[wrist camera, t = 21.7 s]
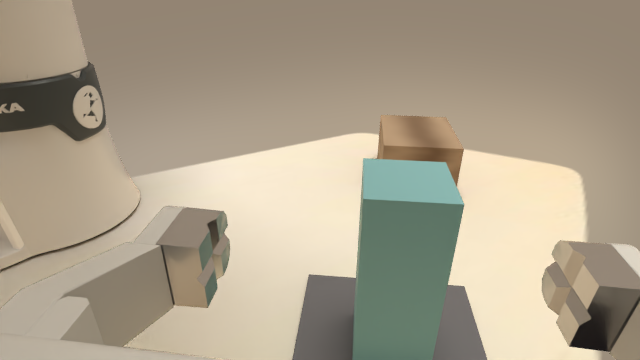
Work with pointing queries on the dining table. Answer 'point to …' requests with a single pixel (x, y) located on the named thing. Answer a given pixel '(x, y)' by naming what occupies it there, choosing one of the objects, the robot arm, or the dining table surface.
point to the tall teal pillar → (403, 257)
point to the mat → (338, 316)
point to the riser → (420, 141)
